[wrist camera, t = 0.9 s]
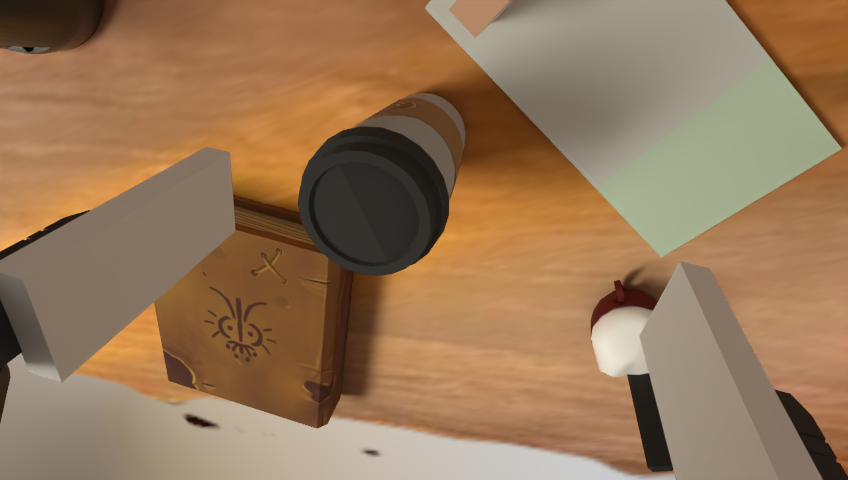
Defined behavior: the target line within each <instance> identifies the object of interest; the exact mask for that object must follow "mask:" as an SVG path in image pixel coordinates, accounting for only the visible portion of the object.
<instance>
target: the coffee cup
mask: <svg viewBox="0 0 848 480" xmlns="http://www.w3.org/2000/svg"><path fill="white" fill-rule="evenodd" d="M465 138H466V131H465V127H464V122H463V120H462V118H461V116H460V114H459V112H458V111H457V110H456V109H455V108H454V106H453V105H452V104H451V103H450V102H448V101H447V100H445V99H443V98H442V97H440V96H437V95H434V94H431V93H417V94H413V95H409V96H407V97H405V98H404V99H401V100H398V101H396V102H395V103H393V104H391V105H389V106H388V107H386V108H384V109H382V110H381V111H379V112H377V113H376V114H374V115H372V116H371V117H369V118H367V119H365V120H364V121H362V122H360V123H359V124H357V125H355V126H354V128H351V129H347V130H343V131H341V132H339V133H338V134H336V135H334V136H332V137H331V138H329V139H327V141H326V142H325V143H324V144H323V145H322V146H321V147H320V148H319V149H318V151H317V152H316V154H315V155H314V156H313V157H312V158H311V159H310V160H309V162H308V164H307V166H306V169H305V171H304V173H303V175H302V182H301V186H300V191H299V199H298V206H299V212H300V219H301V221H302V223H303V226H304V228H305V231H306V233H307V235H308V236H309V238H310V239H311V240H312V242H313V243H314V245H315V246H316V247H317V248H318V249H319V250H320V251H321V252H322V253H323V254H324V255H325V256H326V257H327V258H328V259H330V260H331V261H333V262H335V263H336V264H338V265H340V266H341V267H343V268H345V269H348V270H351V271H353V272H356V273H359V274H366V275H374V276H378V275H387V274H393V273H395V272H398V271H401V270H403V269H406V268H407V267H408V266H410V265H412V264H415V263H416V262H418V261H419V260H420V259H421V258H423V257H424V256H425V255H427V254H428V253H429V251H430V250H431V248H432V247H433V246H434V244H435V243H436V241H437V240H438V238H439V237H440V236H441V234H442V233H443V231H444V228H445V225H446V222H447V219H448V216H449V199H450V197H451V195H452V192H453V189H454V186H455V182H456V179H457V175H458V171H459V168H460V164H461V160H462V153H463V149H464V146H465Z"/></svg>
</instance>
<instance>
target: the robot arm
mask: <svg viewBox="0 0 848 480" xmlns="http://www.w3.org/2000/svg"><path fill="white" fill-rule="evenodd" d="M103 2H104V0H0V48H3V49H9V50H12V51H16V52H21V53H28V54H45V53H51V52H57V51H63V50H68V49H72V48H75V47H77V46H79V45H80V44H82V43H83V42H85V41H86V40H87V39H88V38H89V37H90V36H91V34H92V33H93V32H94V30H95V28H96V27H97V24H98V22H99V20H100V17H101V13H102V9H103ZM234 232H235V217H234V203H233V189H232V175H231V161H230V153H229V152H225V151H221V150H216V149H212V148H208V147H206V148H204V149H202V150H200V151H198V152H196V153H195V154H193V155H191V156H189V157H187V158H186V159H184V160H182V161H180V162H178V163H176V164H175V165H173V166H171V167H169V168H167V169H165V170H164V171H162V172H160V173H158V174H156V175H155V176H153V177H151V178H149V179H147V180H145V181H144V182H142V183H140V184H138V185H136V186H135V187H133V188H131V189H129V190H127V191H125V192H124V193H122V194H120V195H118V196H116V197H115V198H113V199H111V200H109V201H107V202H105V203H104V204H102V205H100V206H98V207H96V208H94V209H93V210H91V211H90V210H88V211H85V212H81V213H78V214H75V215H71V216H68V217H65V218H62V219H61V220H59V221H57V222H55V223H53V224H51V225H49V226H47V227H46V228H44V230H43V231H38V232H36V233H34V234H33V235H31V236H29V237H27V240H21V241H19V242H18V243H16V244H14V245H12V246H10V247H8V248H6V249H4V250H3V251H1V252H0V422H1V417H2V412H3V408H4V404H5V399H6V394H7V390H8V385H9V381H10V372H9V367H8V365H7V363H8V362H9V361H11V360H12V359H13V358H15V357H16V356H17V355H19V354H20V353H22V355H23V358H24V360H25V362H26V365H27V367H28V369H29V372H30V373H33V374H36V375H39V376H42V377H46V378H49V379H52V380H55V381H59V382H63V381H64V380H65V379H66V378H67V377H69V376H70V375H71V374H72V373H73V372H74V371H76V370H77V369H78V368H79V367H80V366H81V365H82V364H84V363H85V362H86V361H87V360H88V359H89V358H90V357H92V356H93V355H94V354H95V353H96V352H97V351H98V350H100V349H101V348H102V347H103V346H104V345H105V344H106V343H108V342H109V341H110V340H111V339H112V338H113V337H115V336H116V335H117V334H118V333H119V332H120V331H121V330H123V329H124V328H125V327H126V326H127V325H128V324H129V323H131V322H132V321H133V320H134V319H135V318H136V317H137V316H139V315H140V314H141V313H142V312H143V311H144V310H145V309H147V308H148V307H149V306H150V305H151V304H152V303H153V302H155V301H156V300H157V299H158V298H159V297H160V296H161V295H163V294H164V293H165V292H166V291H167V290H168V289H170V288H171V287H172V286H173V285H174V284H175V283H176V282H178V281H179V280H180V279H181V278H182V277H183V276H184V275H186V274H187V273H188V272H189V271H190V270H191V269H192V268H194V267H195V266H196V265H197V264H198V263H199V262H200V261H202V260H203V259H204V258H205V257H206V256H207V255H208V254H210V253H211V252H212V251H213V250H214V249H215V248H216V247H218V246H219V245H220V244H221V243H222V242H223V241H224V240H226V239H227V238H228V237H229V236H230V235H231V234H233V233H234ZM640 340H641V344H642V348H643V352H644V356H645V360H646V364H647V368H648V371H649V375H650V379H651V383H652V387H653V391H654V395H655V399H656V403H657V407H658V411H659V415H660V418H661V422H662V426H663V430H664V434H665V438H666V442H667V446H668V450H669V454H670V458H671V462H672V465H673V469H674V473H675V477H676V480H848V476H847V475H846V473H845V471H844V469H843V468H842V466H841V464H840V463H838V462H836V459H837V458H836V456H835V454H834V452H833V451H832V449H831V447H830V446H829V444H828V443H825V437H824V436H823V434H822V432H821V430H820V429H819V427H818V425H817V424H816V422H815V420H814V419H813V417H812V416H811V414H810V413H809V412H808V411H807V410H806V409H805V408H804V407H803V406H802V405H801V404H800V403H799V402H798V401H797V400H796V399H795V398H794V397H793V396H792V395H791V394H789V393H786V392H782V391H778V390H774V388H773V386H772V384H771V383H770V381H769V379H768V377H767V375H766V373H765V371H764V370H763V368H762V366H761V364H760V362H759V360H758V358H757V357H756V355H755V353H754V351H753V349H752V347H751V345H750V344H749V342H748V340H747V338H746V336H745V334H744V332H743V331H742V329H741V327H740V325H739V323H738V321H737V319H736V318H735V316H734V314H733V312H732V310H731V308H730V306H729V305H728V303H727V301H726V299H725V297H724V295H723V293H722V292H721V290H720V288H719V286H718V284H717V282H716V280H715V279H714V277H713V275H712V273H711V271H710V269H709V268H705V267H701V266H697V265H693V264H688V263H684V262H679V264H678V266H677V268H676V269H675V271H674V273H673V275H672V277H671V279H670V280H669V282H668V284H667V286H666V288H665V290H664V291H663V293H662V295H661V297H660V299H659V301H658V303H657V304H656V306H655V308H654V310H653V312H652V314H651V315H650V317H649V319H648V321H647V323H646V325H645V326H644V328H643V330H642V332H641V334H640Z"/></svg>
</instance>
